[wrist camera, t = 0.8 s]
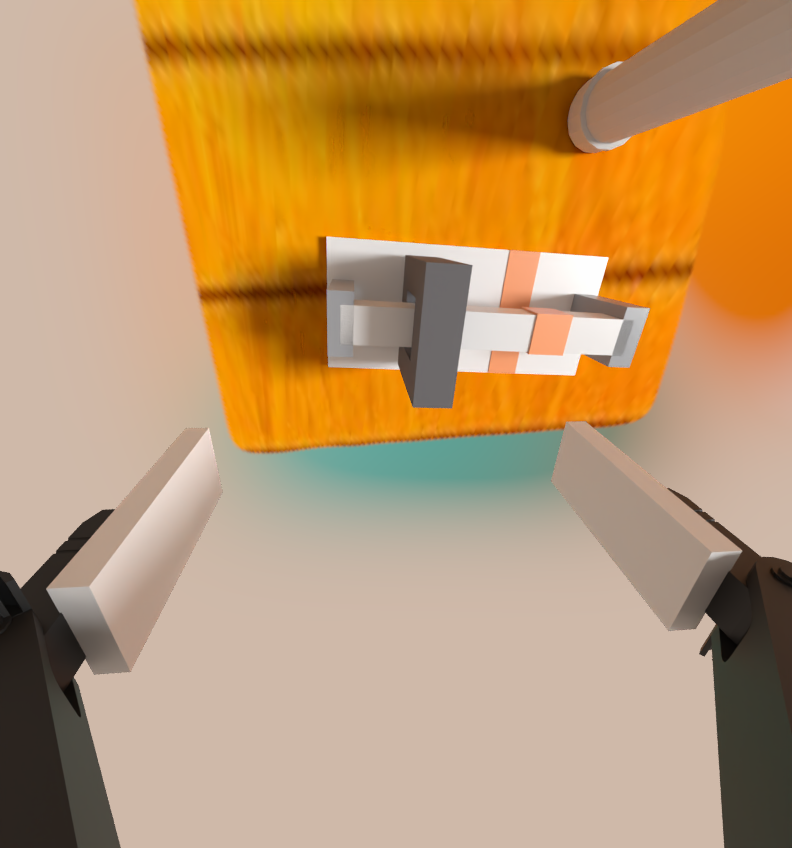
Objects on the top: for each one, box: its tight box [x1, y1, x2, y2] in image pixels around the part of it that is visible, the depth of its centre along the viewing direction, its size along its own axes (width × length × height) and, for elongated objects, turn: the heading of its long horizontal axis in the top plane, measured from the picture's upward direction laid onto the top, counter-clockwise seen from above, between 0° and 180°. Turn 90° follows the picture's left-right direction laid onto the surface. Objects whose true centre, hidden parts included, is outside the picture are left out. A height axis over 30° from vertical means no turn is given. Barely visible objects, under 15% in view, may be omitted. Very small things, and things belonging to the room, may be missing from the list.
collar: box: [398, 255, 473, 408], centre depth 31 cm, size 10×3×11 cm, turn 176°
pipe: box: [567, 0, 792, 153], centre depth 19 cm, size 6×6×30 cm
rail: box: [326, 237, 650, 375], centre depth 34 cm, size 12×27×9 cm, turn 86°
